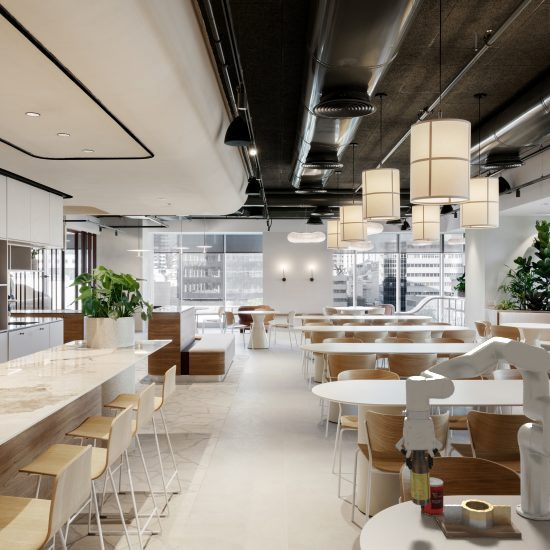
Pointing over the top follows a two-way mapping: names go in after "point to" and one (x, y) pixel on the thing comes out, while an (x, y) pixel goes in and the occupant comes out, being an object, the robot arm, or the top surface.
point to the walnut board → (464, 531)
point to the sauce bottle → (420, 478)
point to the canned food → (434, 498)
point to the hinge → (477, 514)
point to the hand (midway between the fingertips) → (419, 467)
